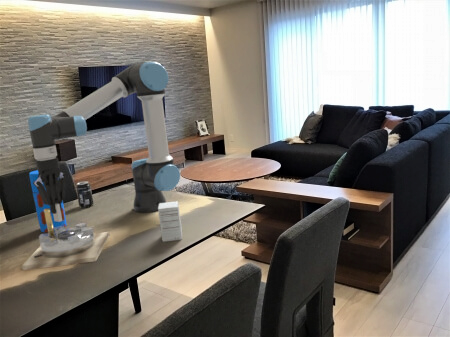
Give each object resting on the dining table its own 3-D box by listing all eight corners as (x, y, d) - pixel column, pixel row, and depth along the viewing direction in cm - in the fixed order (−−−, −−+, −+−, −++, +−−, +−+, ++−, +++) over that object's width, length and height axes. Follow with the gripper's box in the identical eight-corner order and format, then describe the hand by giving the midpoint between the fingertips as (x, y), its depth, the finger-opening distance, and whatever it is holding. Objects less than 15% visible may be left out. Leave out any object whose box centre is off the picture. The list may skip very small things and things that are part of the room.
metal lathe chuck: (104, 238, 156) (98, 202, 153) (71, 259, 140) (63, 219, 137) (66, 235, 163) (60, 201, 160) (30, 255, 147) (22, 217, 144)
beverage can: (78, 205, 210) (74, 182, 208) (92, 203, 213) (88, 180, 211) (80, 209, 204) (76, 185, 202) (94, 206, 207) (90, 182, 204)
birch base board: (109, 235, 164) (108, 231, 164) (96, 261, 141) (95, 256, 140) (46, 242, 163) (46, 238, 162) (22, 270, 139) (21, 265, 139)
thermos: (57, 232, 174) (46, 173, 168) (34, 232, 176) (23, 174, 171) (71, 223, 184) (61, 167, 179) (50, 223, 186) (39, 168, 181)
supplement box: (163, 234, 159) (158, 202, 156) (182, 232, 160) (178, 200, 157) (161, 242, 152) (157, 208, 149) (182, 239, 152) (178, 206, 150)
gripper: (37, 162, 143) (50, 228, 148) (68, 154, 154) (79, 216, 159) (23, 162, 147) (36, 225, 152) (54, 154, 158) (65, 214, 163)
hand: (58, 220), depth 155 cm, fingers closed
